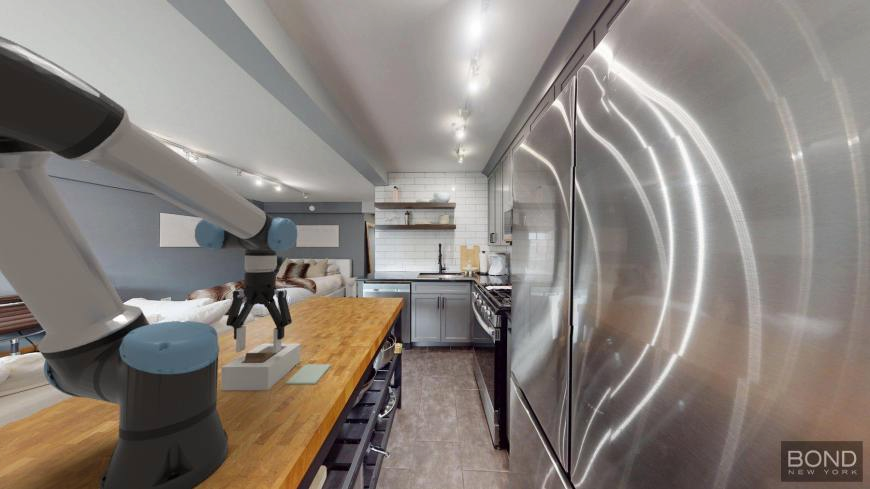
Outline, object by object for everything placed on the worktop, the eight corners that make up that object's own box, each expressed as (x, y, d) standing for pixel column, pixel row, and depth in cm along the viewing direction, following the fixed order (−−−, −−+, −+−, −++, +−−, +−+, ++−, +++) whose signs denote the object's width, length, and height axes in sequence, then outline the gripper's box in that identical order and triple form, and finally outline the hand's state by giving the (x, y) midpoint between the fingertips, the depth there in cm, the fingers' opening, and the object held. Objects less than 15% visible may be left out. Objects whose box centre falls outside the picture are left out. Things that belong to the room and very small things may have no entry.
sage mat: (315, 384, 75) (315, 382, 75) (285, 384, 75) (285, 382, 75) (331, 365, 87) (331, 364, 87) (305, 365, 87) (305, 364, 87)
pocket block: (268, 390, 72) (268, 366, 72) (221, 390, 71) (221, 367, 71) (300, 362, 90) (300, 343, 90) (262, 362, 89) (263, 343, 89)
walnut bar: (262, 362, 75) (264, 352, 76) (244, 362, 75) (246, 352, 76) (284, 361, 86) (285, 352, 87) (267, 361, 86) (269, 352, 87)
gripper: (306, 270, 82) (304, 346, 81) (230, 269, 81) (228, 346, 81) (293, 272, 74) (292, 355, 74) (210, 271, 74) (208, 355, 73)
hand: (259, 350), depth 77 cm, fingers open, 9 cm apart
